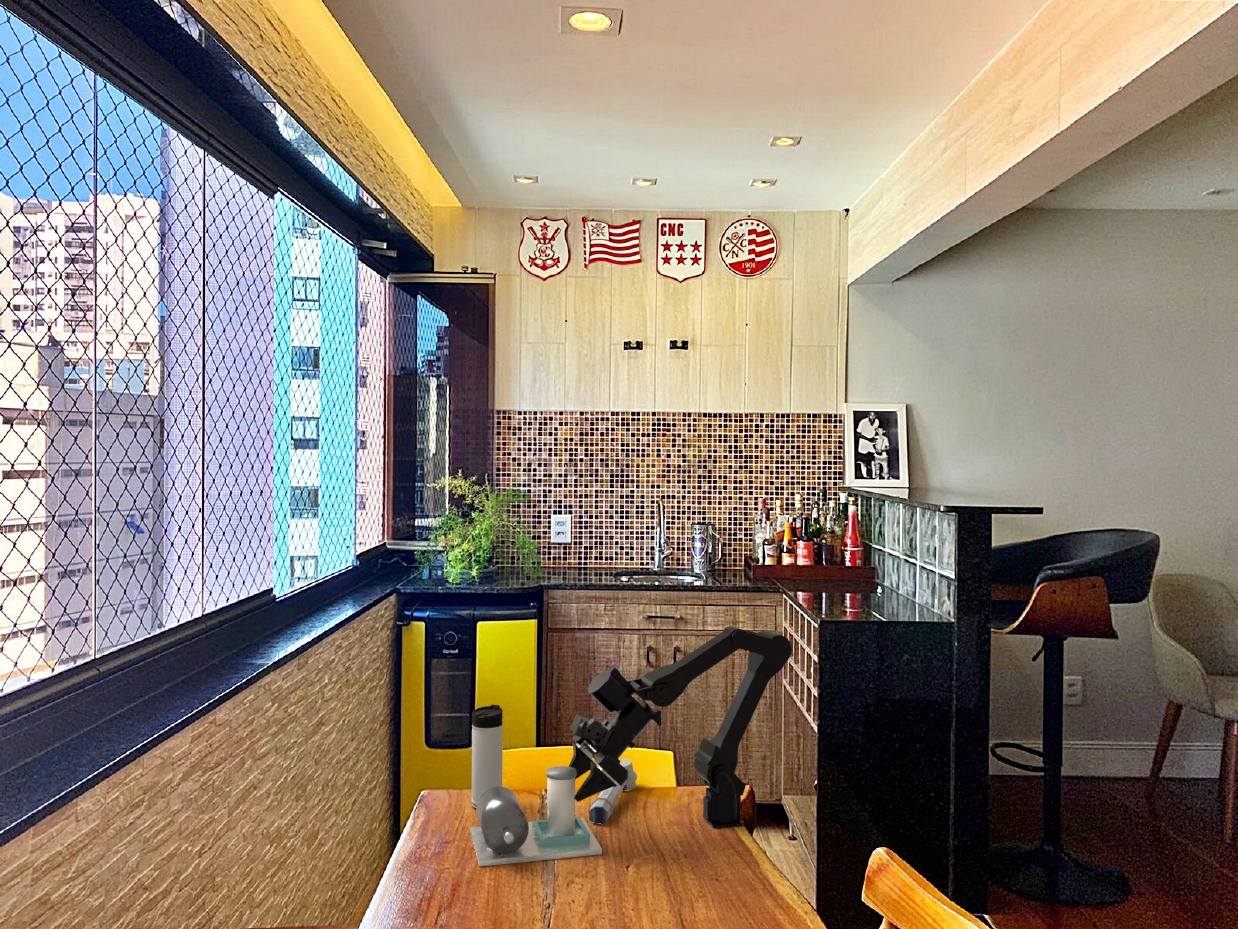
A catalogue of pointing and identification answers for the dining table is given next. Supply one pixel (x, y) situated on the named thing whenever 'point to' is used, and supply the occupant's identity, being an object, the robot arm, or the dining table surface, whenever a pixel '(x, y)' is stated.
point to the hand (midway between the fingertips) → (569, 792)
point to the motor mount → (522, 834)
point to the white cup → (560, 801)
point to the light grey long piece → (611, 796)
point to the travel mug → (486, 750)
